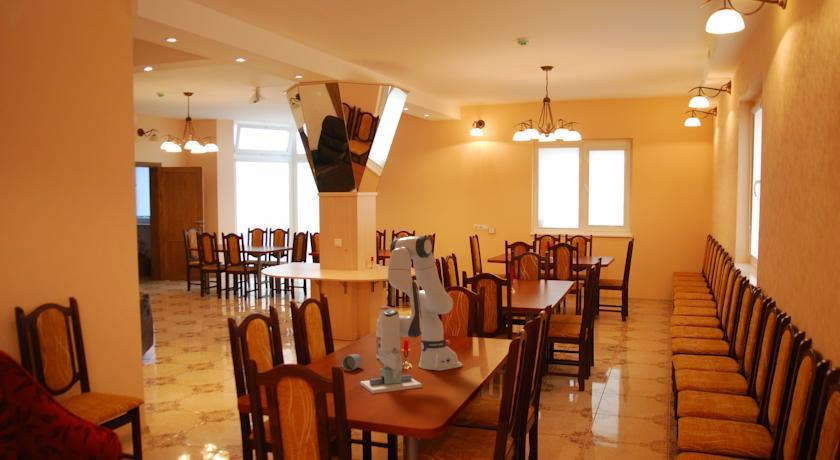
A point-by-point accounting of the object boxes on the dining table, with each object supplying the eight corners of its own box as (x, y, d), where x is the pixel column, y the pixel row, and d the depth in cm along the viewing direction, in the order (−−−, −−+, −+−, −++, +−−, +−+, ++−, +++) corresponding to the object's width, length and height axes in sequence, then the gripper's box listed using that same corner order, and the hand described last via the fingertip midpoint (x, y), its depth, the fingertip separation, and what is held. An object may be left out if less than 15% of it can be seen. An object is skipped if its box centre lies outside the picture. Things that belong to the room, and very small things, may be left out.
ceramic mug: (363, 367, 348) (363, 352, 347) (355, 371, 340) (354, 356, 340) (345, 366, 352) (345, 351, 352) (337, 369, 345) (336, 354, 345)
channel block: (396, 378, 319) (396, 366, 318) (401, 382, 313) (401, 369, 313) (380, 380, 315) (380, 368, 315) (385, 384, 310) (385, 371, 309)
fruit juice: (382, 355, 375) (382, 304, 374) (396, 357, 371) (396, 306, 369) (372, 358, 367) (372, 307, 366) (387, 360, 362) (387, 308, 361)
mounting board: (407, 378, 326) (407, 375, 326) (421, 387, 312) (421, 383, 312) (360, 384, 316) (360, 381, 316) (372, 393, 302) (372, 390, 302)
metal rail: (409, 379, 319) (409, 374, 319) (411, 380, 317) (411, 375, 317) (369, 384, 311) (369, 379, 311) (371, 385, 309) (371, 380, 309)
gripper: (406, 350, 305) (406, 380, 306) (388, 341, 324) (388, 370, 324) (393, 351, 303) (393, 382, 303) (376, 342, 321) (376, 371, 322)
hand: (390, 376), depth 314 cm, fingers closed on channel block, 6 cm apart
